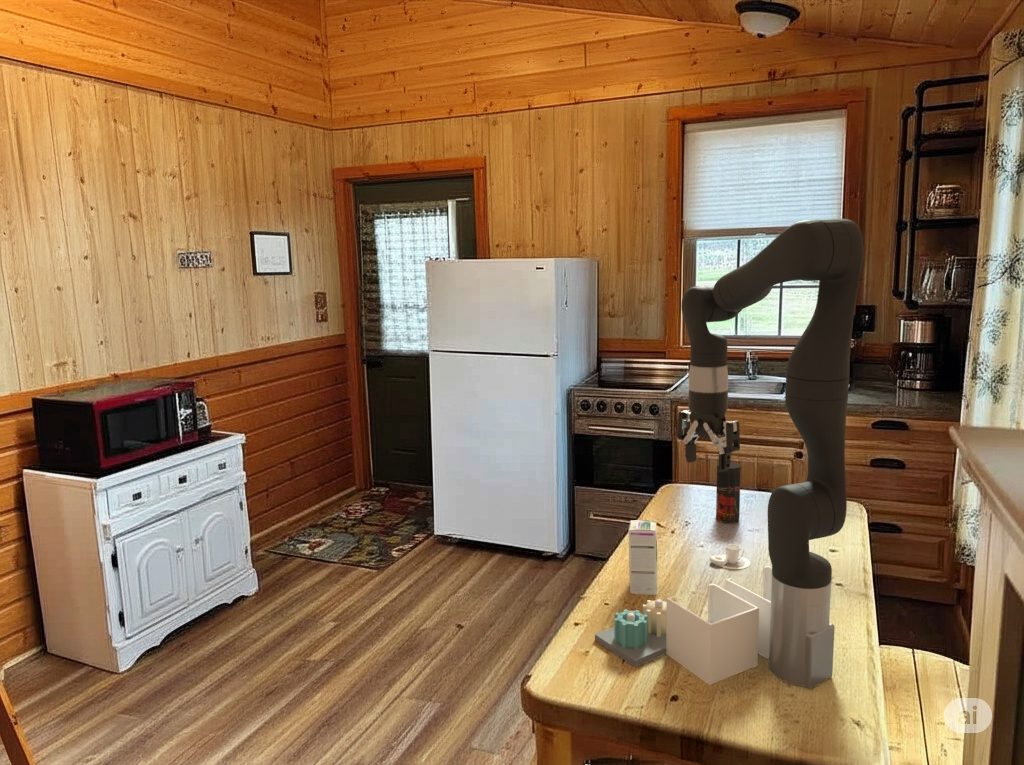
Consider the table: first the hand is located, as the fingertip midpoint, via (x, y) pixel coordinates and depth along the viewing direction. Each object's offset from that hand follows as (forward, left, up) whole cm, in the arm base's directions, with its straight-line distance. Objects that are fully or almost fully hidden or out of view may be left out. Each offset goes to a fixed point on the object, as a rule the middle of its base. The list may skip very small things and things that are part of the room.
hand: (707, 466), depth 146 cm
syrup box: (+10, +8, -28) cm, 31 cm away
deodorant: (+26, -37, -28) cm, 53 cm away
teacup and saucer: (+11, -17, -29) cm, 35 cm away
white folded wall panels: (-18, +10, -28) cm, 35 cm away
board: (-6, +22, -28) cm, 36 cm away
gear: (-6, +26, -27) cm, 37 cm away
